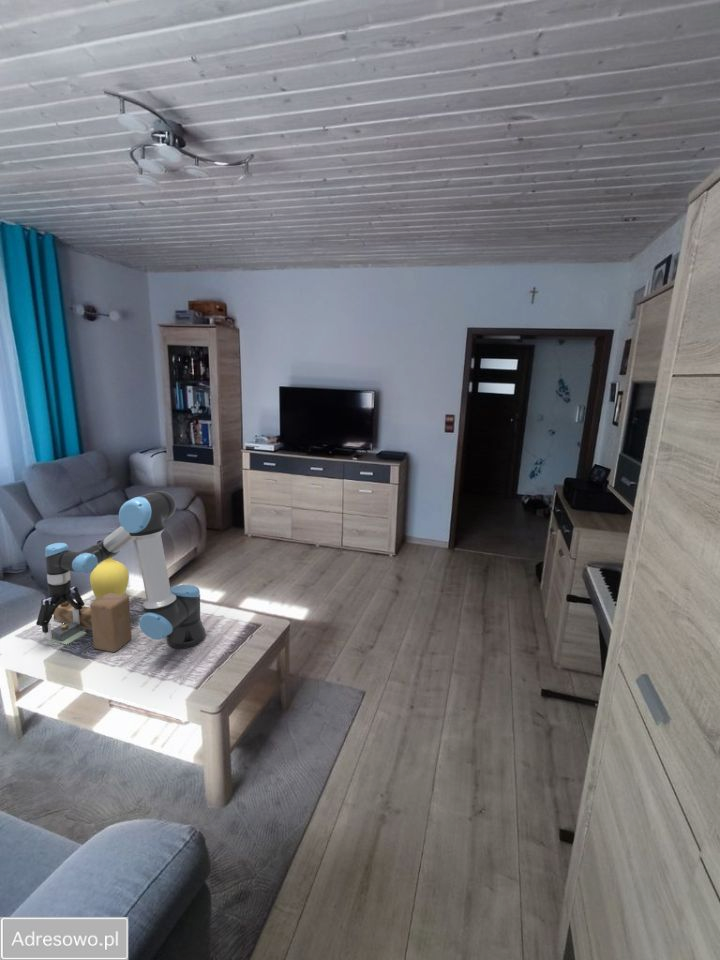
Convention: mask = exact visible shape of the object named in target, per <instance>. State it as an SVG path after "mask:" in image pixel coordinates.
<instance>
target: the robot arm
mask: <svg viewBox="0 0 720 960" xmlns="http://www.w3.org/2000/svg"><path fill="white" fill-rule="evenodd" d="M176 509H177V502H176V499H175V497H174V496H173V495H172V494H171V493H170V492H166V491H163V490H155V491H152V492H150V493H146V494H143V495H139V496H135V497H133V498H131V499H130V500H129V499H128V500H126V501H125V502H124V503H123V504H122V505H121V507H120V508H119V510H118V511H119V512H118V521H119V524H120V526H119V527H118V528H116V529H115V530H114V531H113V532H111V533H109V534H108V535H107V536H106V537H105V538H104V539H102V540H101V541H99V542H98V543H96V544H93V545H92V546H89V547H87V548H84V549H82V550H79V551H74V550H69V546H68V544H67V543H65V542H55V543H52V544H49V545H47V546H45V549H44V550H45V552H44V553H45V554H44V558H45V559H44V560H45V569H46V579H47V580H46V581H47V591H48V592H47V593H48V595H49V597H48V598H46V599H41V601H40V602H41V604H40V605H41V606H40V610H39V612H38V616H37V620H36V624H35V625H36V626H39V627H41V628H42V630H41V631H42V633H43V635H44V637H45V639H48V640H47V641H49V640H51V639H52V634H51V630H52V625H51V623H50V622H51V619H52V617H54V616H53V614H54V611H55V609H56V608H57V607H58V606H59V605H60V604H62V603H65V602H66V601H67V602H68V603H69V604H70V605H71V606H73V607H74V608H75V609H72V612H73V623H77V624H80V618H79V616H80V609H82V607H81V606H85V602H84V600H83V598H82V597H81V594H80V592H79V588H78V587H77V586H72V583H71V572H75V573H81V574H83V573H84V574H89V573H92V571H93V569H94V568H96V566H97V565H98V564H100V563H101V562H103V561H104V560H106V559H108V558H111V557H112V558H114V557H115V556H117V555H118V554H119V553H121V552H120V551H121V550H123V548H125V547H126V546H127V545H128V544H131V542H133V541H134V540H135V544H136V550H137V555H138V562H139V566H140V570H141V577H142V582H143V588H144V593H145V598H146V600H145V601H144V602H143V604H142V607H143V614H142V615H141V617H140V618H139V622H138V624H139V628H140V630H141V632H142V633H143V634H144V635H146V636H147V637H148V638H149V639H152V640H162V639H164V638H166V644H167V646H169V647H171V648H174V649H188V648H189V649H190V648H191V647H195V646H197V645H198V644H200V643H202V642H203V641H204V640H205V639H206V629H205V627H204V625H203V621H202V619H201V593H200V592H201V591H200V588H199V587H198V586H196V585H194V584H193V585H192V584H179V585H174V586H172V587H171V586H170V578H169V573H168V567H167V562H166V556H165V550H164V546H163V540H162V533H163V532H164V531H165V524H164V521H166V520H168V519H169V518H172V516H173V515H174V514H175V512H176ZM71 596H72V597H73V598H72V597H71ZM45 639H44V640H45Z"/></svg>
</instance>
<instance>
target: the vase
mask: <svg viewBox="0 0 720 960" xmlns="http://www.w3.org/2000/svg"><path fill="white" fill-rule="evenodd" d="M89 576H90V577H89V584H90V587H91V590H92V592H93V594H94V597H95V598H96V599H95V600H97V599H99V598H101V597H102V596H104V595H106V594H108V593H113V594H119V595H125V596H126V591H127V588H128V584H129V579H130V578H129V571H128V569H127V566H126V565H125V564H123V563H122V562H120V561H117V560H115V559H114V558H113V557H111V558H108V559H106V560H104V561H102V562H100V563H98V564H97V566H96V568H94V569H93V571H92V572H90V575H89Z"/></svg>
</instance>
